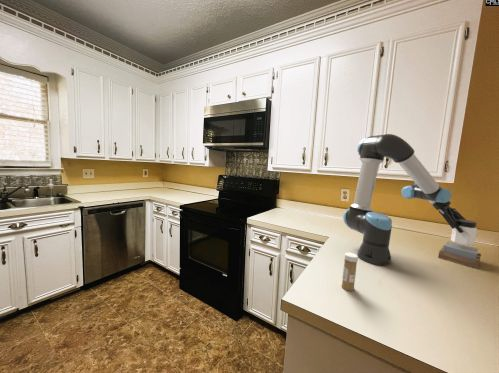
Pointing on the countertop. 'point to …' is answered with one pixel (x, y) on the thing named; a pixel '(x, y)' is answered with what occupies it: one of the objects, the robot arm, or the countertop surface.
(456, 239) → the jar
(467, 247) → the grey top brick
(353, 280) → the sprinkles bottle
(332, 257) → the countertop surface
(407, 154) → the robot arm
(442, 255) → the walnut base brick
